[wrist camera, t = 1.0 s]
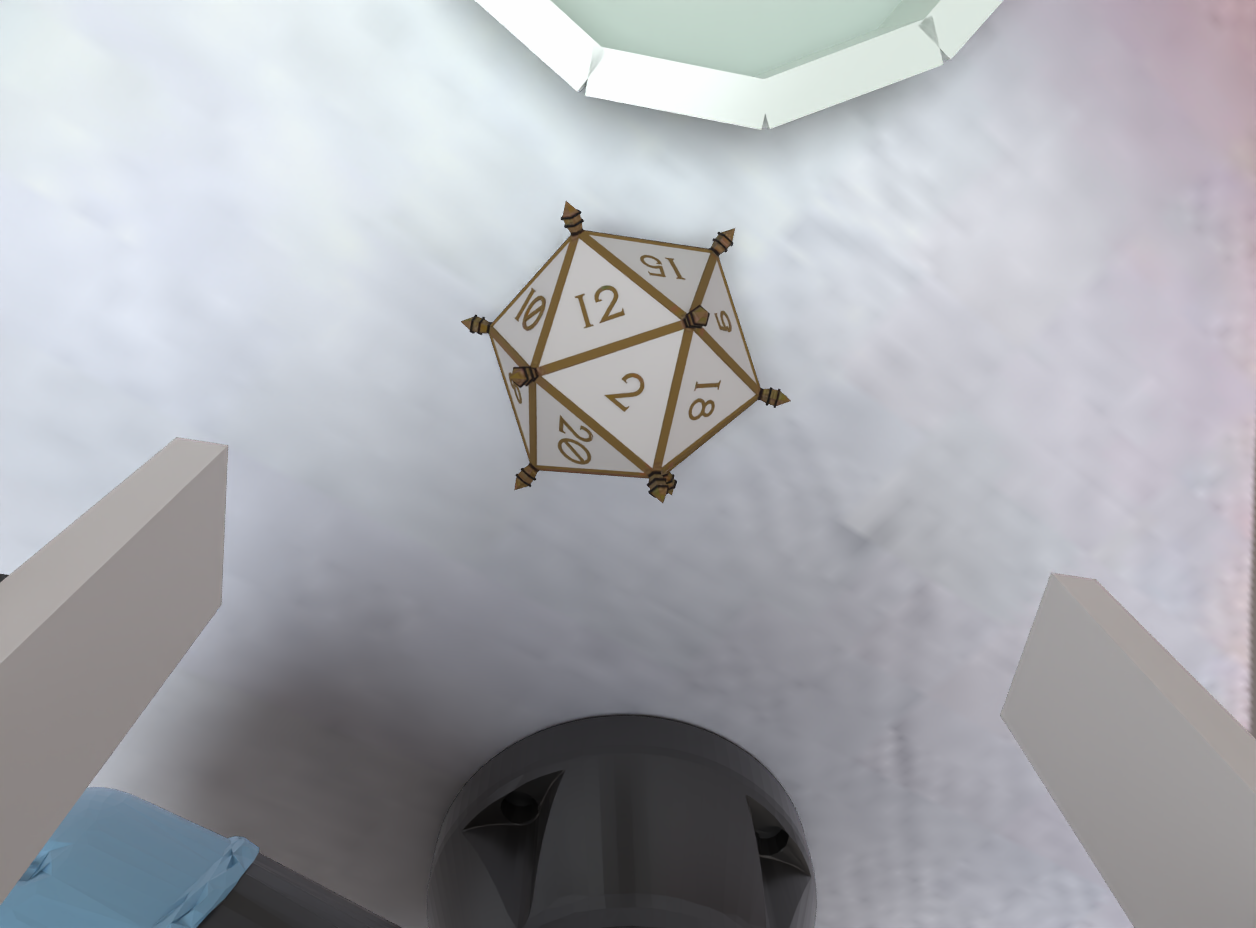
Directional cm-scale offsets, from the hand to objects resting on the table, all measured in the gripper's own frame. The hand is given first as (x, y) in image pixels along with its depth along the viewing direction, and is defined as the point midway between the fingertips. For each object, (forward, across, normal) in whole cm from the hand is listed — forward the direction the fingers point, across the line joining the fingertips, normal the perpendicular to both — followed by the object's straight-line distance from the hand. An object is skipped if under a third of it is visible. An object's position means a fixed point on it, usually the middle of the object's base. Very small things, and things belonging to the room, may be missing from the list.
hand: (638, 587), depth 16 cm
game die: (+19, 0, 0) cm, 19 cm away
